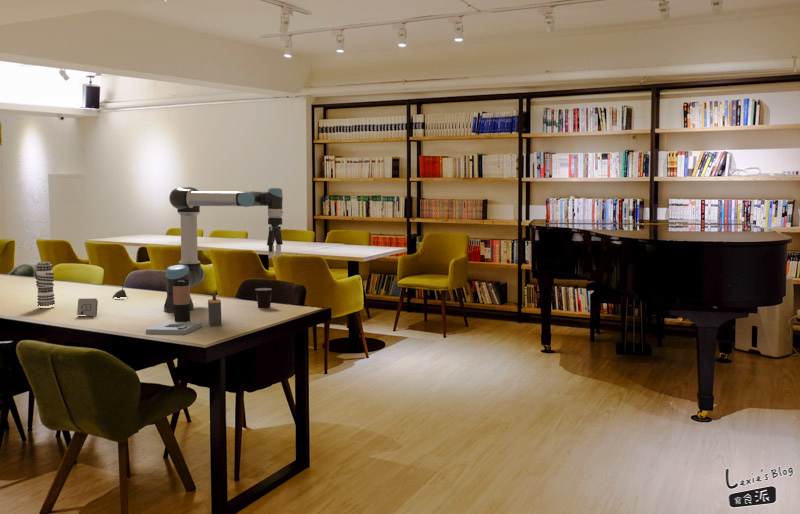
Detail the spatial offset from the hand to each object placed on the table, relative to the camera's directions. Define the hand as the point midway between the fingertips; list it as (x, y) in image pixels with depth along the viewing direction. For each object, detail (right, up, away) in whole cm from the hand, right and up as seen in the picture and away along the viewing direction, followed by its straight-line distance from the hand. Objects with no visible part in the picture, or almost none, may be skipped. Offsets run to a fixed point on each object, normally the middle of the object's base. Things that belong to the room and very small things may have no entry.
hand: (274, 257), depth 375 cm
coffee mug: (-6, -27, +6) cm, 28 cm away
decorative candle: (-127, -28, +11) cm, 130 cm away
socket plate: (-36, -33, -54) cm, 73 cm away
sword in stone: (-99, -25, +42) cm, 110 cm away
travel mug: (-39, -31, -33) cm, 60 cm away
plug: (-20, -32, -43) cm, 58 cm away
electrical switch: (-92, -30, -16) cm, 98 cm away
